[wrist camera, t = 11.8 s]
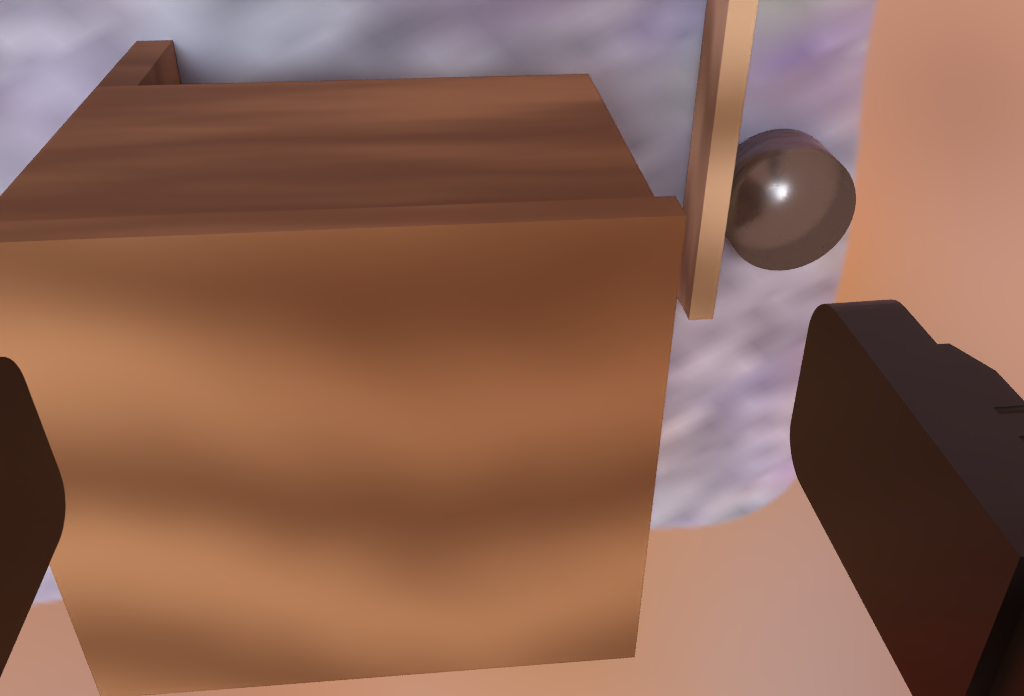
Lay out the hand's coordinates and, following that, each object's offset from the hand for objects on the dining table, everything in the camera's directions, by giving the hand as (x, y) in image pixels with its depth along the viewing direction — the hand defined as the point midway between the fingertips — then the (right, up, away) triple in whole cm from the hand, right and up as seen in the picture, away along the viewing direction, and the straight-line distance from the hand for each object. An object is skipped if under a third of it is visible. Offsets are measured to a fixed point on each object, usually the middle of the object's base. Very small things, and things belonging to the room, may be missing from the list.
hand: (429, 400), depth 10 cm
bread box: (-5, +6, +27) cm, 28 cm away
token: (+11, +7, +28) cm, 31 cm away
